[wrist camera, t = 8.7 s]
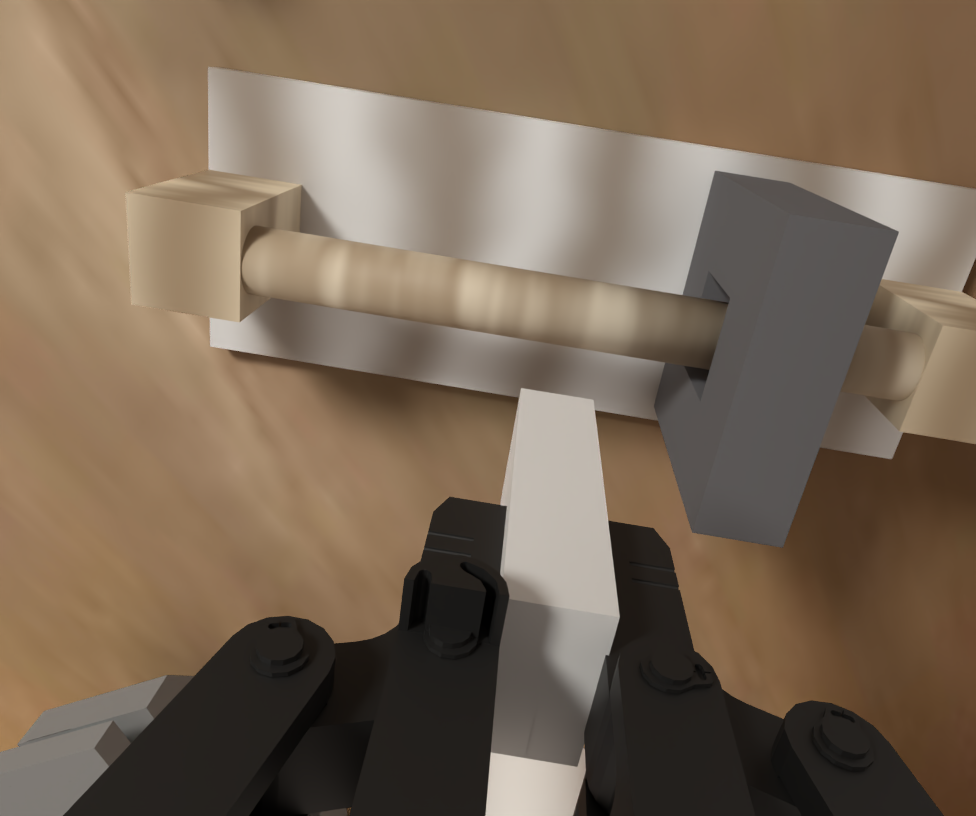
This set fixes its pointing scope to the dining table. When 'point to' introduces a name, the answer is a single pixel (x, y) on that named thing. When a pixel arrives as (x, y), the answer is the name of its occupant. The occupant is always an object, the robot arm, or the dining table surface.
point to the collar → (767, 350)
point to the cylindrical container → (532, 786)
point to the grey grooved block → (81, 747)
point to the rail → (521, 254)
